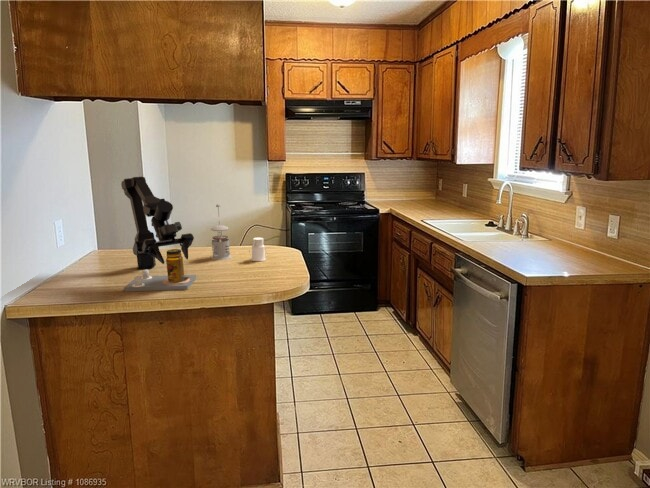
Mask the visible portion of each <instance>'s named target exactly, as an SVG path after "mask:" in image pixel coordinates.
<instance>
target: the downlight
mask: <svg viewBox="0 0 650 488" xmlns="http://www.w3.org/2000/svg"><path fill="white" fill-rule="evenodd" d="M252 242H253V243H252V245H251V253H250V249H249V251H248V252H249V254H251V257H250V261H253V262H264V261H266V260H267V257H266V256H265V255H266V254H268V253H267V251H266V248H265V247H266V245H264V237H254V238H253V239H252ZM265 251H266V252H265ZM265 253H266V254H265Z"/></svg>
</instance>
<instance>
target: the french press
mask: <svg viewBox="0 0 650 488" xmlns="http://www.w3.org/2000/svg"><path fill="white" fill-rule="evenodd" d="M215 207H216V208H217V211H218V212H217V213H218V216H220V210H219V208H221V205H220V204H219V203H218V204H216V206H215ZM228 230H229V227H228V226H227V225H223V224H220V222H218V224H217V225H214V226H212V227H211V228H210V231H213V232H217V235H215V236H212V238H211V239H212V240H211V248H212V256H211V257H210V259H211V260H213V261H214V260H215V261H222V260H224V261H225V260H229V259H232V258H233V255H231V251H230V250H231V249H230V248H231V247H230V239H228V238H229V236H228V235H223V233H222V232H224V231H225V232H226V231H228Z"/></svg>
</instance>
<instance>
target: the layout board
mask: <svg viewBox="0 0 650 488" xmlns="http://www.w3.org/2000/svg"><path fill="white" fill-rule="evenodd" d="M141 270H142V271H141V273H142V274H141V276H140V275H139V276H134V278H133V279H132V280H131V281H130V282H129V283H127V285H125V286H124V292H143V291H144V292H149V291H152V292H153V291H181V290H182V291H184V290H185V291H186V290H189V288H190V287H191V286H192V284H193V283H195V281H196V279H197V275H196V274H184V277H187V276H190V277H189V278H188V279H187V280H186V281H185V282H184V283H165V282H166V281H168V275H150V270H149V269H141Z"/></svg>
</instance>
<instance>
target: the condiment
mask: <svg viewBox="0 0 650 488" xmlns="http://www.w3.org/2000/svg"><path fill="white" fill-rule="evenodd" d="M183 258H184V257H183V256H182V250H181V248H172V249H167V250H166V258H165V259H166V262H165V264H166V270H167V271H166V272H167V276H168V281H166V282H165V283H184V282H185V281H186V280H187V279H188V278H189V277H190V276H187V277H184V275H185V270H184V259H183Z"/></svg>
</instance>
